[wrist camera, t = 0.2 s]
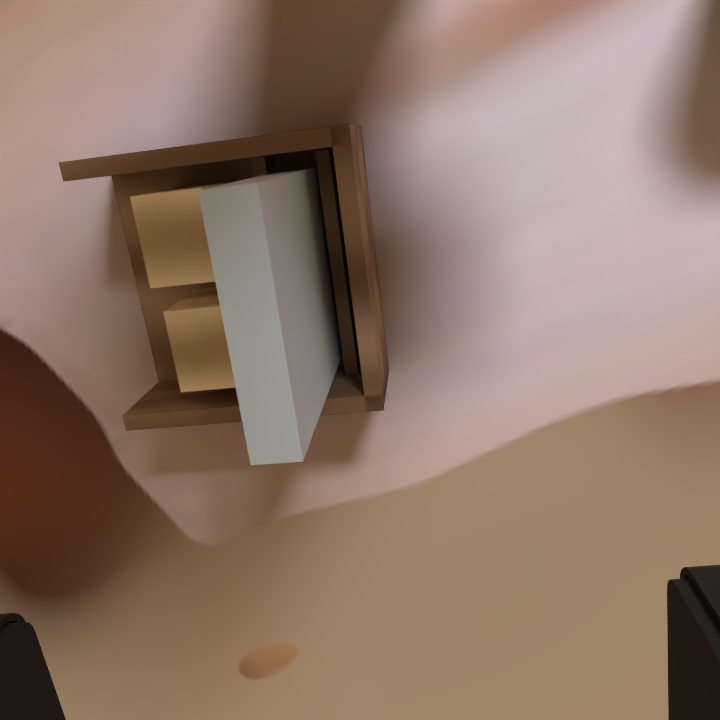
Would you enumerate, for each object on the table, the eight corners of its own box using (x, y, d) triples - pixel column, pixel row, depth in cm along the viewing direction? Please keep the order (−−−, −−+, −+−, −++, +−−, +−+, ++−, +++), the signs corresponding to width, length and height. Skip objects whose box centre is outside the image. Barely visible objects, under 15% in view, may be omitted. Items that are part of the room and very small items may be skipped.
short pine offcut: (196, 289, 44) (163, 311, 38) (254, 283, 43) (230, 305, 38) (210, 360, 46) (180, 392, 40) (267, 355, 45) (245, 386, 39)
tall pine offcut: (175, 187, 42) (129, 196, 35) (236, 179, 41) (202, 187, 35) (191, 265, 43) (150, 288, 37) (250, 258, 43) (219, 281, 36)
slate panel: (280, 170, 41) (197, 190, 26) (318, 166, 41) (257, 183, 26) (308, 354, 45) (250, 465, 30) (343, 351, 44) (303, 461, 29)
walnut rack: (114, 158, 43) (58, 162, 36) (360, 126, 41) (348, 124, 34) (167, 389, 48) (126, 430, 41) (388, 370, 46) (383, 410, 39)
